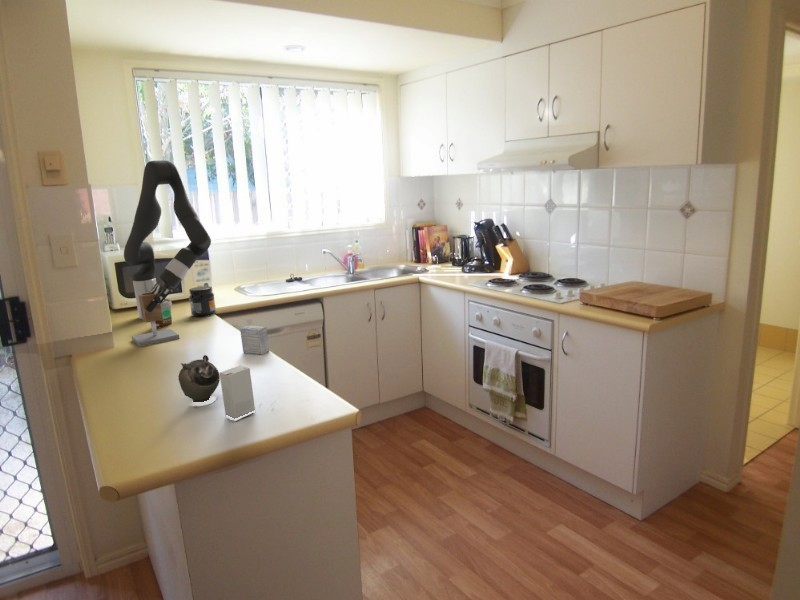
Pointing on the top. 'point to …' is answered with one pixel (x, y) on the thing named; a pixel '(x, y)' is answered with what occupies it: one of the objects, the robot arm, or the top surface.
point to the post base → (155, 336)
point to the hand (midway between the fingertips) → (146, 309)
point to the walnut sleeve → (144, 302)
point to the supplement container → (202, 301)
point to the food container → (165, 314)
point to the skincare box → (237, 391)
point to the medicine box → (254, 339)
